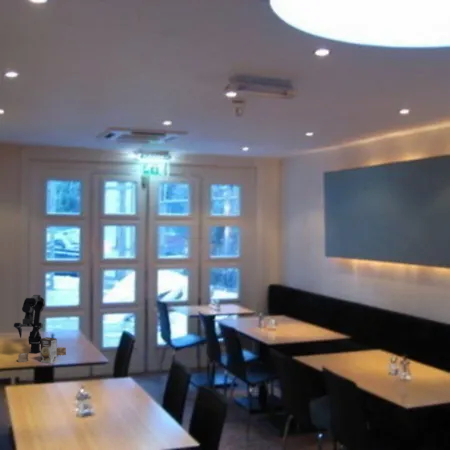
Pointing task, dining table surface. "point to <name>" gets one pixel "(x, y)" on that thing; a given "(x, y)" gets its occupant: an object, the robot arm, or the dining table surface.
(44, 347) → the coffee box
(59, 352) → the walnut cube
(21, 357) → the walnut cube
